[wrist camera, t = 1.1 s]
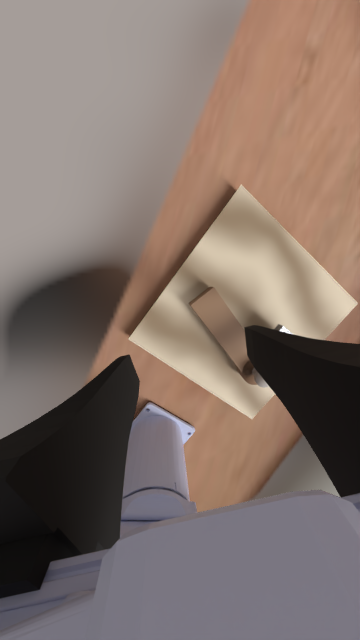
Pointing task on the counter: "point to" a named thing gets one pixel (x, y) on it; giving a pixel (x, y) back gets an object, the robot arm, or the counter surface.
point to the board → (241, 299)
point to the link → (226, 332)
